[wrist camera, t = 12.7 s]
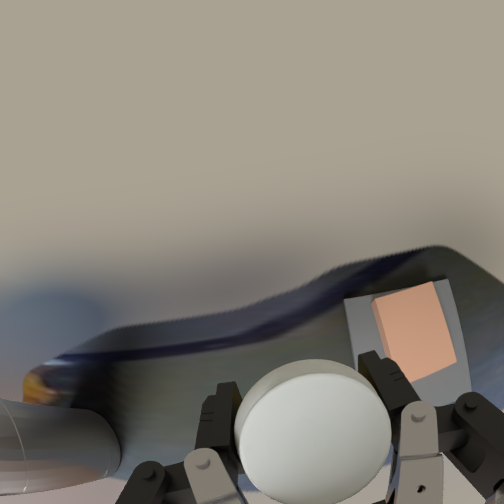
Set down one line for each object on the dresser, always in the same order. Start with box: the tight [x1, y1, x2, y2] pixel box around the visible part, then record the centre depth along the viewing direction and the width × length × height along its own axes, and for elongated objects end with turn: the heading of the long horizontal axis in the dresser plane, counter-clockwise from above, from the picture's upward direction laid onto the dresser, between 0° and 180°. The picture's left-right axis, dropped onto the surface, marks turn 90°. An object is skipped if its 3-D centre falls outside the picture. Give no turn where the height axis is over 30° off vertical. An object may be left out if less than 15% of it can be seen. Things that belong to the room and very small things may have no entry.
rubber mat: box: [343, 279, 472, 406], centre depth 24 cm, size 13×14×1 cm
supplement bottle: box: [234, 359, 391, 504], centre depth 10 cm, size 5×5×10 cm
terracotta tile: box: [371, 281, 457, 382], centre depth 24 cm, size 2×7×9 cm
